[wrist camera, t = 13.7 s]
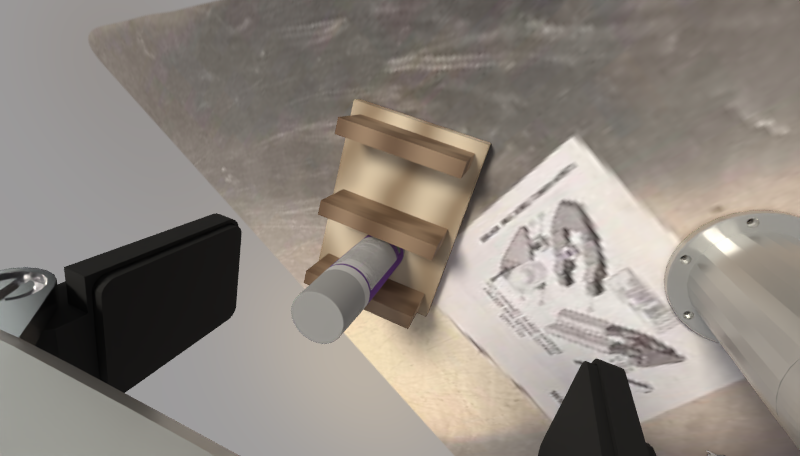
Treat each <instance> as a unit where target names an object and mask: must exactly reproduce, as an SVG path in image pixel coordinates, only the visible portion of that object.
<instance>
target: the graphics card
mask: <svg viewBox="0 0 800 456" xmlns="http://www.w3.org/2000/svg"><path fill="white" fill-rule="evenodd" d="M706 451H707V452H708V453H710V455H709V454H708V456H716V454H714V453H711V452H710V451H708V450H706ZM717 456H725V455H717Z"/></svg>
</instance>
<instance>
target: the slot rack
mask: <svg viewBox="0 0 800 456" xmlns="http://www.w3.org/2000/svg"><path fill="white" fill-rule="evenodd" d="M335 134H337V135H339V136H342V137H345V138H346V139H345V144H344V148H343V153H342V157H341V162H340V166H339V171H338V175H337V180H336V185H335V189H334V194H333V195H331V196H329V197H327V198H325V199H323V200H321V203H320V207H319V212H318V215H321V216H323V217H326V218H328V221H327V225H326V230H325V235H324V239H323V244H322V248H321V253H320V257H319V261H318V262H317V263H316V264H314V265H313V266H312V267H311V268H309V269H308V270H307V271H306V275H305V280H304V283H306V284H308V285H310V284H311V283H312V282H314V281H315V280H316V279H317V278H318V277H319V276H320V275H321V274H322V273H323V272H324V271H326V270H327V269H328V268H329V267H330V266H331V265H332V264H334V263H335V262H336V261H337V260H338V259H340V258H341V257H342V256H343V255H344V254H346V253H347V252H348V251H349V250H350V249H352V248H353V247H354V246H355V245H356V244H358V243H359V242H360V241H361V240H362V239H363V238H365V237H366V236H367V235H370V236H373V237H375V238H378V239H380V240H383V241H385V242H388V243H390V244H392V245H395V246H397V247H400V248H402V249H405V254H404V258H403V260H402V261H401V263H400V264H399V265H398V267H397V268H396V269H395V270H394V272H393V273H392V274H391V276H390V277H389V278H388V279H387V281H386V282H385V283H384V284H383V286H382V287H381V288H380V289H379V291H378V292H377V293H376V294H375V296H374V297H373V298H372V300H371V301H370V302H369V303H368V305H367V306H366V307H365V308H364V310H366V311H369V312H371V313H373V314H375V315H378V316H380V317H382V318H384V319H387V320H389V321H391V322H393V323H396V324H398V325H400V326H402V327H405V328H407V329H408V328H409V326H410V324H411V322H412V320H413V319H414V317H415V315H416V313H419V314H421V315H424V316H427V314H428V312H429V309H430V307H431V304H432V301H433V299H434V296H435V293H436V290H437V288H438V285H439V282H440V280H441V277H442V274H443V272H444V269H445V266H446V264H447V261H448V258H449V255H450V253H451V250H452V247H453V245H454V242H455V239H456V237H457V234H458V231H459V228H460V226H461V223H462V220H463V218H464V215H465V212H466V210H467V207H468V204H469V201H470V199H471V196H472V193H473V191H474V188H475V185H476V183H477V180H478V177H479V174H480V172H481V169H482V166H483V164H484V161H485V158H486V156H487V153H488V150H489V148H490V145H491V143H489V142H486V141H483V140H480V139H477V138H474V137H471V136H468V135H465V134H462V133H459V132H456V131H453V130H450V129H447V128H444V127H441V126H438V125H435V124H432V123H429V122H426V121H423V120H420V119H417V118H414V117H411V116H408V115H405V114H402V113H399V112H397V111H394V110H391V109H388V108H385V107H382V106H379V105H376V104H373V103H370V102H367V101H364V100H361V99H356V100H354V103H353V107H352V112H351V116H344V117H338V121H337V125H336V130H335Z"/></svg>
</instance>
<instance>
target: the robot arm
mask: <svg viewBox="0 0 800 456" xmlns="http://www.w3.org/2000/svg"><path fill="white" fill-rule="evenodd" d="M749 219H751V221H750V222H748V223H747V221H748V220H749ZM240 245H241V229H240V228H239V227H238V223H237V222H236V221H235V220H233V219H230V218H228V217H225V216H222V215H220V214H217V213H216V214H212V215H209V216H206V217H204V218H201V219H198V220H195V221H192V222H190V223H187V224H184V225H181V226H178V227H176V228H173V229H170V230H167V231H164V232H161V233H159V234H156V235H153V236H150V237H147V238H145V239H142V240H139V241H136V242H133V243H131V244H128V245H125V246H122V247H120V248H117V249H114V250H111V251H108V252H106V253H103V254H100V255H97V256H94V257H92V258H89V259H86V260H83V261H80V262H78V263H75V264H72V265H69V266H66V267H64V272H65V280H66V281H65V282H63V283H60V284H58V285H57V279H56V277H55V275H54V274H52V273H51V272H49V271H47V270H43V269H39V268H28V267H23V268H9V269H4V270H0V456H239V455H237V454H235V453H234V452H232V451H230V450H228V449H226V448H224V447H223V446H221V445H219V444H217V443H215V442H214V441H212V440H210V439H208V438H206V437H204V436H203V435H201V434H199V433H197V432H195V431H193V430H191V429H189V428H188V427H186V426H184V425H182V424H181V423H179V422H177V421H175V420H173V419H171V418H169V417H167V416H165V415H164V414H162V413H160V412H158V411H157V410H155V409H153V408H151V407H149V406H147V405H145V404H144V403H142V402H140V401H138V400H136V399H134V398H132V397H131V396H129V395H127V394H125V392H126V391H128V390H129V389H131V388H132V387H134V386H135V385H136V384H138V383H139V382H141V381H142V380H143V379H145V378H146V377H148V376H149V375H150V374H152V373H153V372H155V371H156V370H158V369H159V368H160V367H162V366H163V365H165V364H166V363H167V362H169V361H170V360H172V359H173V358H175V357H176V356H177V355H179V354H180V353H182V352H183V351H184V350H186V349H187V348H189V347H190V346H192V345H193V344H194V343H196V342H197V341H199V340H200V339H201V338H203V337H204V336H206V335H207V334H208V333H210V332H211V331H213V330H214V329H215V328H217V327H218V326H220V325H221V324H222V323H224V322H225V321H227V320H228V319H229V318H231V316H232V315H233V313H234V311H235V308H236V299H237V285H238V272H239V258H240ZM684 255H685V257H684V258H681V257H682V256H684ZM664 283H665V292H666V295H667V299H668V302H669V303H670V305H671V307H672V309H673V311H674V312H675V314H676V315H677V316H678V318H679V319H680V320H681V321H682V322H683V323H684V324H685V325H686V326H687V327H689V328H690V329H691V330H692V331H694V332H696V333H697V334H699V335H701V336H702V337H704V338H707V339H710V340H712V341H715V342H717V343H721V345H722V346H723V348H724V349H725V350H726V352H727V353H728V354H729V356H730V357H731V359H732V360H733V361H734V363H735V364H736V365H737V367H738V368H739V369H740V371H741V372H742V374H743V375H744V376H745V378H746V379H747V380H748V382H749V383H750V384H751V386H752V387H753V389H754V390H755V391H756V393H757V394H758V395H759V397H760V398H761V399H762V401H763V402H764V404H765V405H766V406H767V408H768V409H769V410H770V412H771V413H772V415H773V416H774V417H775V419H776V420H777V421H778V423H779V424H780V425H781V426H782V428H783V429H784V430H785V432H786V433H787V434H788V436H789V437H790V438H791V440H792V441H793V442H794V444H795V445H796V446H797V448H798V449H799V450H800V217H798V216H795V215H792V214H789V213H784V212H778V211H771V210H752V211H745V212H738V213H733V214H730V215H727V216H723V217H720V218H717V219H715V220H713V221H711V222H709V223H707V224H704V225H702V226H701V227H700V228H698V229H697V230H695V231H694V232H692V233H691V234H689V235H688V236H687V237H686V238H685V239H684V240H683V241H682V242H681V243H680V244H679V245H678V247H677V248H676V250H675V251H674V252H673V254H672V255H671V258H670V260H669V262H668V265H667V267H666V272H665V278H664ZM686 311H687V312H686ZM538 456H656V453H655V451H654V449H653V447H651V446H650V445H649V444H647V443H646V442H645V439H644V435H643V432H642V428H641V425H640V422H639V418H638V415H637V411H636V408H635V404H634V401H633V397H632V394H631V390H630V387H629V384H628V380H627V377H626V373H625V371H624V369H622V368H620V367H617V366H615V365H612V364H610V363H607V362H604V361H602V360H599V359H595V360H594V361H593V362H592V363H589V362H587V361H584V362H583V363H582V365H581V367H580V369H579V371H578V372H577V374H576V376H575V378H574V380H573V382H572V384H571V386H570V388H569V390H568V392H567V394H566V396H565V398H564V400H563V402H562V404H561V406H560V408H559V410H558V412H557V414H556V416H555V418H554V420H553V422H552V424H551V425H550V427H549V429H548V431H547V433H546V435H545V437H544V439H543V441H542V443H541V446H540V449H539V454H538Z"/></svg>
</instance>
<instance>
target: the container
mask: <svg viewBox="0 0 800 456" xmlns="http://www.w3.org/2000/svg"><path fill="white" fill-rule="evenodd" d="M404 254H405V249H402V248H400V247H397V246H395V245H392V244H390V243H388V242H385V241H383V240H380V239H378V238H375V237H373V236H370V235H367V236H366V237H365V238H363V239H362V240H361V241H360V242H359V243H358V244H356V245H355V246H354V247H353V248H352V249H350V250H349V251H348V252H347V253H346V254H344V255H343V256H342V257H341V258H340V259H338V260H337V261H336V262H335V263H334V264H332V265H331V266H330V267H329V268H328V269H327V270H326V271H324V272H323V273H322V274H321V275H320V276H319V277H318V278H317V279H316V280H315V281H314V282H312V283H311V284H310V285H309V286H308V287H307V288H306V289H305V290H304V291H303V292H302V293H301V294H300V295H298V296H297V297H296V298H295V300H294V301H293V304H292V309H291V314H292V319H293V322H294V324H295V326H296V327H297V329H298V330H299V331H300V332H301V334H303V335H304V336H305V337H306V338H308V339H309V340H311V341H313V342H316V343H321V344H327V343H331V342H334V341H335V340H337V339H338V338H339V337H340V336H341V334H342V333H343V332H344V331H345V330H346V329H347V328H348V327H349V325H350V324H351V323H352V322H353V321H354V320H355V318H356V317H357V316H358V315H359V314H360V313H361V312H362V310H363V309H364V308H365V307H366V306H367V305H368V303H369V302H370V301H371V300H372V298H373V297H374V296H375V294H376V293H377V292H378V291H379V289H380V288H381V287H382V286H383V284H384V283H385V282H386V281H387V279H388V278H389V277H390V276H391V274H392V273H393V272H394V270H395V269H396V268H397V267H398V265H399V264H400V263H401V261H402V260H403V258H404Z"/></svg>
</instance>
